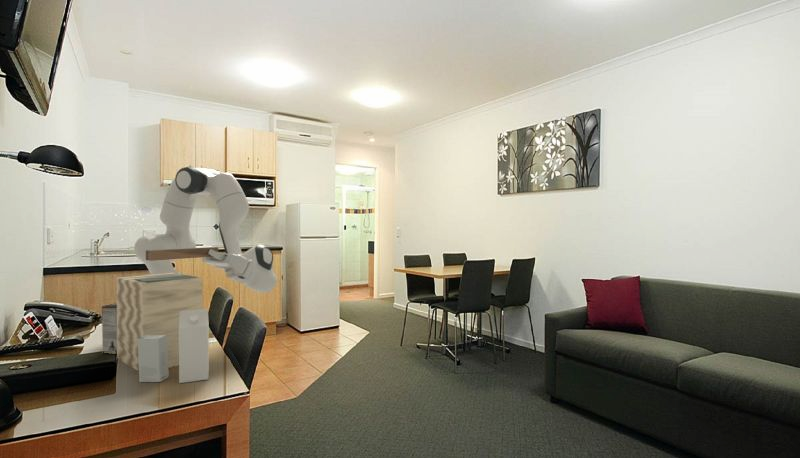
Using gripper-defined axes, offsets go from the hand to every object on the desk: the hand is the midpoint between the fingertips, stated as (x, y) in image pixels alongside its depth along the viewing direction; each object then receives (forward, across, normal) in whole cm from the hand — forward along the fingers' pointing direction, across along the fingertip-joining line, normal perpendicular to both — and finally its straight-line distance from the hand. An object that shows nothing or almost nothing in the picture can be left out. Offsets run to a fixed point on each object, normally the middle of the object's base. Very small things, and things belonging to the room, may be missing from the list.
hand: (204, 250), depth 140 cm
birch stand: (-6, -4, +36) cm, 37 cm away
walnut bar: (+5, 0, +5) cm, 7 cm away
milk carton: (-6, +21, +36) cm, 42 cm away
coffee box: (-2, -24, +38) cm, 45 cm away
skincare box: (+1, +14, +40) cm, 43 cm away
